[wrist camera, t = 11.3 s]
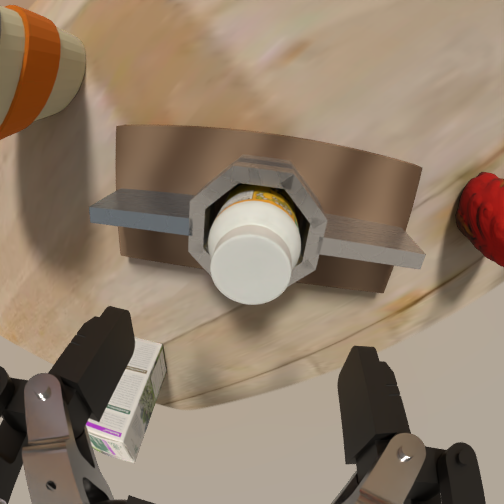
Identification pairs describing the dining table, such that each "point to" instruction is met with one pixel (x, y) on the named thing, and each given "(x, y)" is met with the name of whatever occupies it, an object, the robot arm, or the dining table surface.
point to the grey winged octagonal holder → (271, 175)
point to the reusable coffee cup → (35, 68)
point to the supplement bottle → (254, 244)
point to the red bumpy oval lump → (483, 215)
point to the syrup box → (130, 404)
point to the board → (220, 157)
